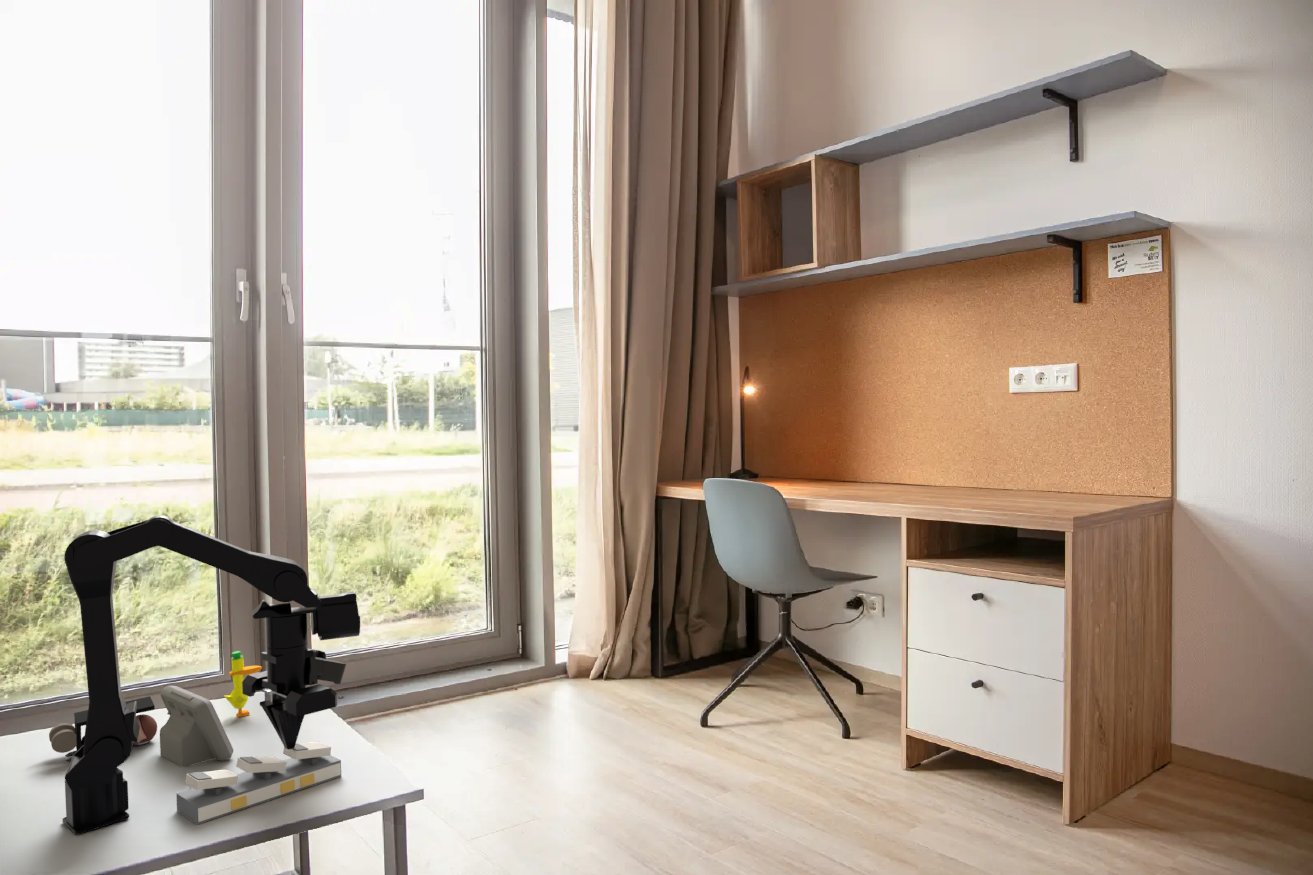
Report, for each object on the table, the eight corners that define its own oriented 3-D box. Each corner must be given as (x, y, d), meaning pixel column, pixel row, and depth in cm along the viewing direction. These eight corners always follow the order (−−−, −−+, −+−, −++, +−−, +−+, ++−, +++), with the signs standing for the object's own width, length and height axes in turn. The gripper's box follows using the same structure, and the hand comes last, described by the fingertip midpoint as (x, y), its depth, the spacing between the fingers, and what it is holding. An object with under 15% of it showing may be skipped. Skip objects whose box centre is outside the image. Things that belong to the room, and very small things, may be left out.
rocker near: (196, 789, 124) (198, 779, 124) (185, 782, 126) (186, 772, 126) (237, 784, 128) (238, 774, 128) (225, 777, 130) (226, 768, 130)
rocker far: (295, 759, 134) (296, 750, 134) (283, 753, 137) (284, 744, 137) (330, 755, 138) (331, 745, 138) (317, 749, 141) (318, 740, 141)
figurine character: (56, 776, 145) (162, 743, 154) (48, 730, 144) (154, 700, 153) (54, 764, 150) (156, 733, 159) (45, 720, 150) (149, 691, 159)
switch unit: (198, 825, 122) (197, 800, 122) (177, 810, 127) (176, 786, 127) (342, 776, 137) (342, 754, 137) (318, 765, 142) (318, 743, 142)
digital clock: (236, 761, 145) (233, 695, 145) (173, 776, 140) (170, 708, 140) (213, 735, 158) (211, 675, 158) (155, 748, 153) (152, 685, 152)
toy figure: (260, 708, 172) (258, 645, 172) (265, 713, 170) (263, 649, 169) (222, 716, 168) (219, 652, 168) (226, 721, 165) (224, 655, 165)
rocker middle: (248, 772, 129) (250, 763, 129) (236, 766, 131) (238, 756, 132) (284, 770, 133) (286, 761, 133) (272, 764, 135) (274, 754, 136)
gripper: (368, 642, 135) (371, 747, 135) (308, 626, 148) (311, 722, 148) (296, 657, 127) (299, 768, 127) (239, 639, 139) (242, 740, 139)
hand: (289, 748), depth 135 cm, fingers closed, pressing on rocker far
